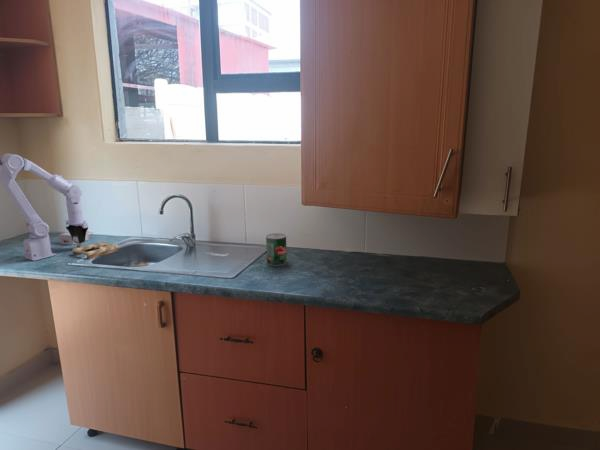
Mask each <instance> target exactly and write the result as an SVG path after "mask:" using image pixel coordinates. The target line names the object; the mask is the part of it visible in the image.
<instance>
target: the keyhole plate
mask: <svg viewBox="0 0 600 450" xmlns="http://www.w3.org/2000/svg"><path fill="white" fill-rule="evenodd" d="M83 246H84V247H80V248H76V249H73V248H72V249H71V250H72V251H71V252H72V256H78V255H84V256H86V259H87V260H91V259H96V258H99V257H103V256H106V255H110V254H112V253H116V252H120V251H119V245H117V244H113V243H109V242H104V241H101V242H97V243H92V244H90V245H89V244H88V245H83Z"/></svg>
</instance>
